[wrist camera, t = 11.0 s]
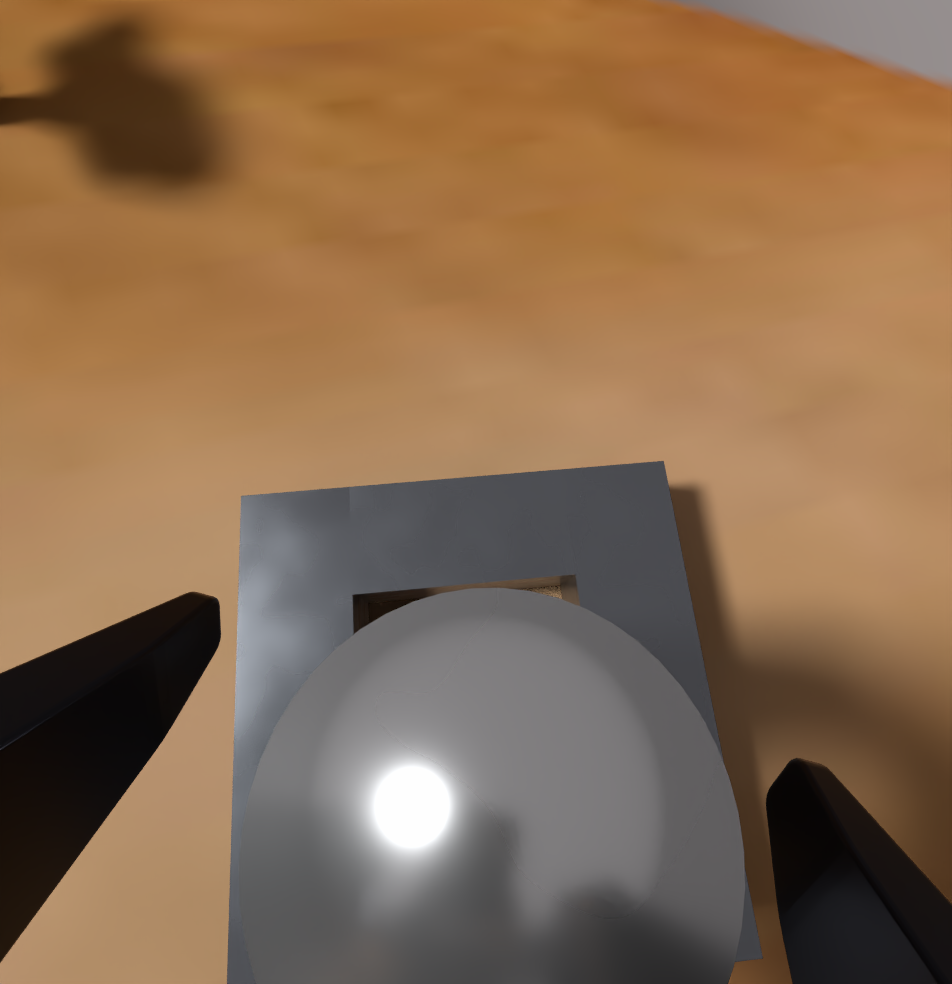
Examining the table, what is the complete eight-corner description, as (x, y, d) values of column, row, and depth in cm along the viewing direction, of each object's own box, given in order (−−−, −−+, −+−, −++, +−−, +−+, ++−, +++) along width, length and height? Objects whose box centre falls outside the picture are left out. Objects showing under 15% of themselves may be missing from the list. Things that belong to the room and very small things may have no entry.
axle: (539, 756, 16) (803, 1129, 3) (417, 769, 16) (230, 1206, 3) (525, 632, 17) (688, 568, 4) (410, 642, 17) (245, 608, 4)
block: (715, 909, 15) (762, 959, 12) (265, 962, 14) (226, 1024, 12) (637, 486, 18) (663, 461, 16) (271, 517, 18) (241, 495, 15)
